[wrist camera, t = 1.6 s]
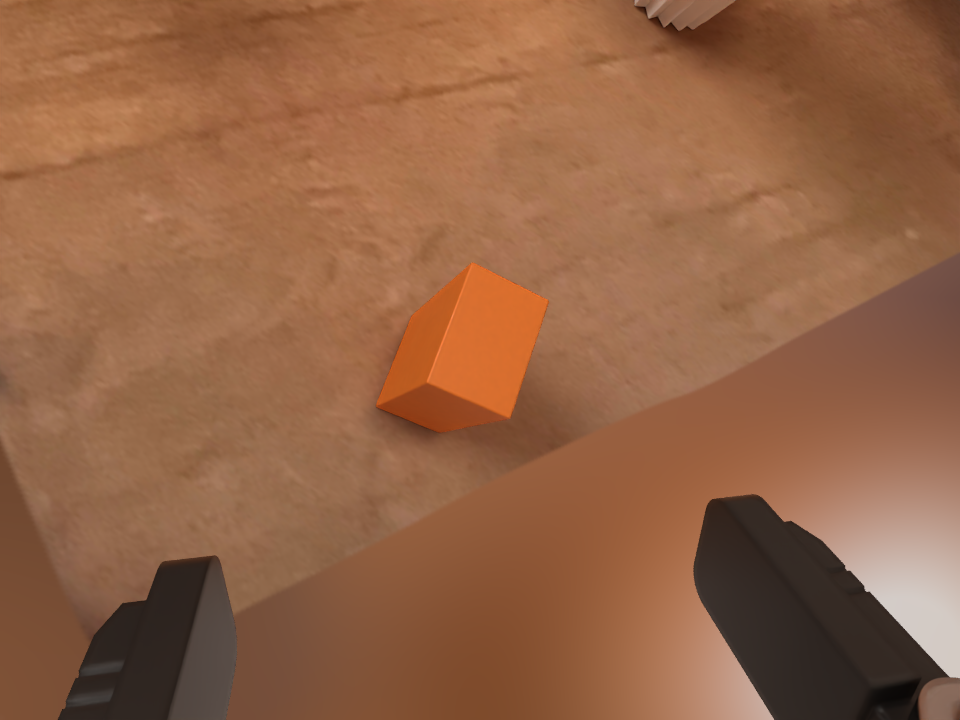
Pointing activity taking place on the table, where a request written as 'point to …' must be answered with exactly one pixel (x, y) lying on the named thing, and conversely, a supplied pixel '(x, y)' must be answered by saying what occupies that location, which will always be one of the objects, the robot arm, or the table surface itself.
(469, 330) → the block
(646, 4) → the vase
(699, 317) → the table surface
